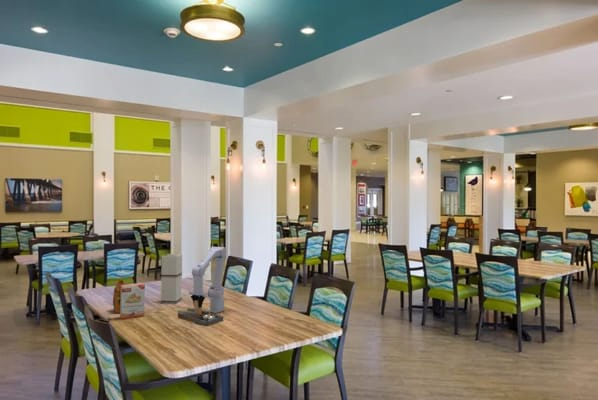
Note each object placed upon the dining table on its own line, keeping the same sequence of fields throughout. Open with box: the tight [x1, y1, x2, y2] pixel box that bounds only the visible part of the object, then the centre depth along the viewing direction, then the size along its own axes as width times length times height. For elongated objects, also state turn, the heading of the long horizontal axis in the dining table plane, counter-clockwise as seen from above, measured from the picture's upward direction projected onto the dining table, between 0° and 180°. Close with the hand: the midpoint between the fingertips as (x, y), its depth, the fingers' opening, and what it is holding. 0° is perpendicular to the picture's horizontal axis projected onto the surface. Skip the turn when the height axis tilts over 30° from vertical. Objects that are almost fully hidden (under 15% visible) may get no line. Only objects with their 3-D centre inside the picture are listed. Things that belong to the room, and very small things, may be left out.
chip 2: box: [207, 314, 216, 321], centre depth 255 cm, size 4×3×3 cm
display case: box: [160, 253, 183, 305], centre depth 306 cm, size 11×11×35 cm
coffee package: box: [112, 277, 126, 314], centre depth 279 cm, size 10×12×22 cm
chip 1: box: [202, 313, 211, 321], centre depth 257 cm, size 4×3×3 cm
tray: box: [194, 313, 224, 327], centre depth 256 cm, size 14×10×2 cm
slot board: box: [177, 307, 210, 323], centre depth 263 cm, size 10×18×4 cm, turn 57°
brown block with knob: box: [193, 300, 203, 314], centre depth 261 cm, size 5×3×9 cm, turn 148°
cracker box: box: [119, 283, 146, 320], centre depth 266 cm, size 14×6×21 cm, turn 121°
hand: (197, 306), depth 261 cm, fingers closed on brown block with knob, 3 cm apart
